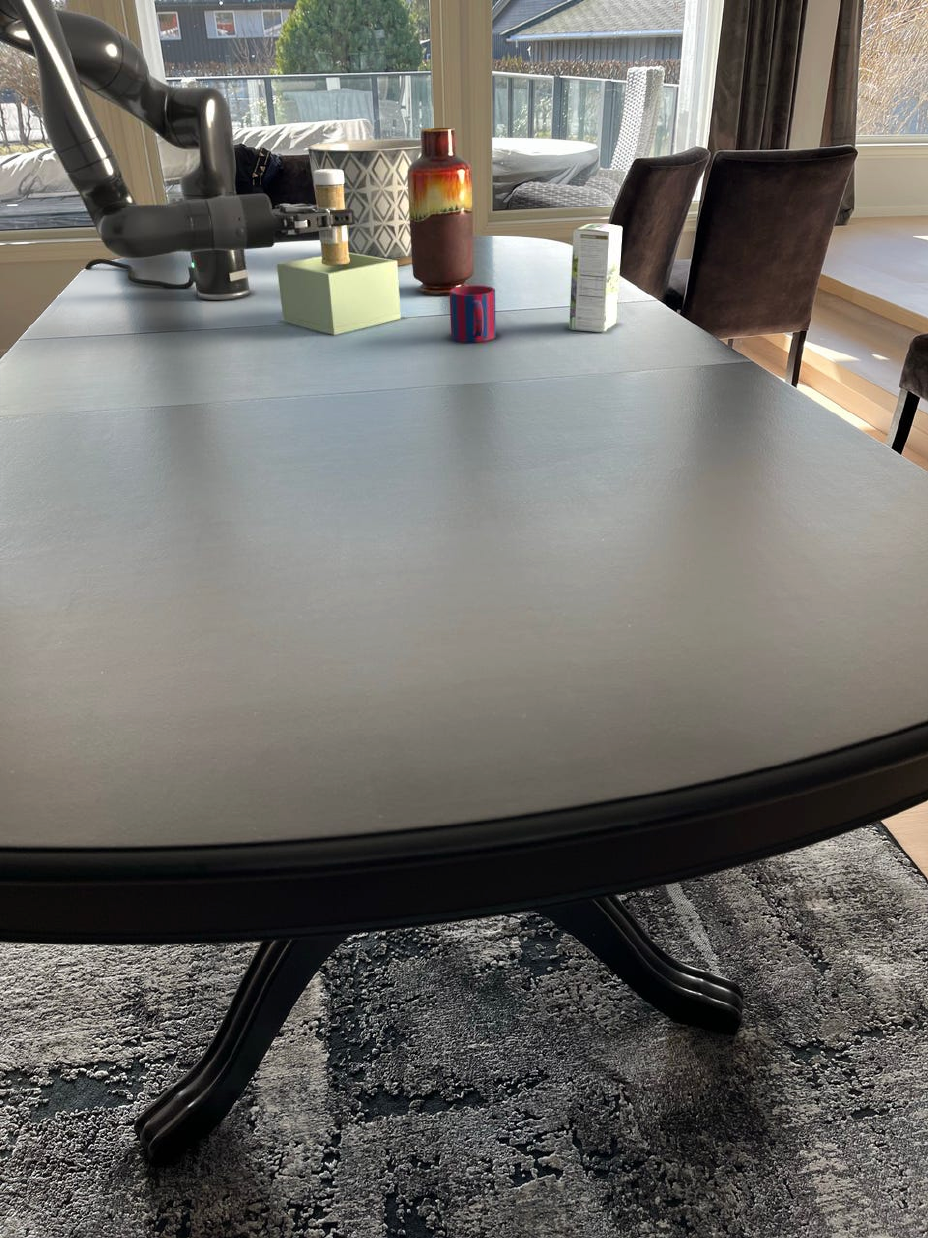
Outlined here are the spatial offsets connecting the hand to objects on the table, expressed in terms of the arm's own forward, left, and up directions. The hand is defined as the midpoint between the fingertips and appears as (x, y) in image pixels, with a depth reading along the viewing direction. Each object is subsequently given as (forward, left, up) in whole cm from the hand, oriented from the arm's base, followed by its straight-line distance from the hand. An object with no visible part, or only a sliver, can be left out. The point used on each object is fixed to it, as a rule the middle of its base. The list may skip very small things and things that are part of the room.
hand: (348, 214), depth 146 cm
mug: (+24, +3, -16) cm, 29 cm away
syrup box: (+33, +20, -16) cm, 42 cm away
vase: (-5, +24, -16) cm, 29 cm away
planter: (-37, +36, -16) cm, 54 cm away
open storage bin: (-1, -2, -16) cm, 16 cm away
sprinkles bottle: (-1, -3, -7) cm, 8 cm away
